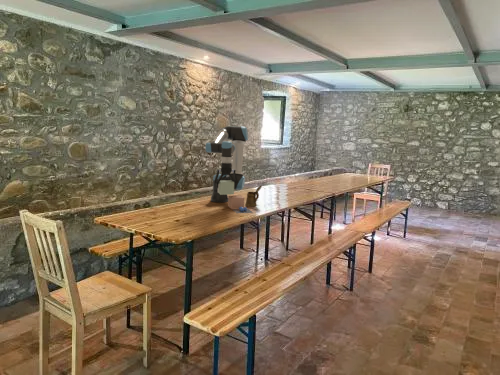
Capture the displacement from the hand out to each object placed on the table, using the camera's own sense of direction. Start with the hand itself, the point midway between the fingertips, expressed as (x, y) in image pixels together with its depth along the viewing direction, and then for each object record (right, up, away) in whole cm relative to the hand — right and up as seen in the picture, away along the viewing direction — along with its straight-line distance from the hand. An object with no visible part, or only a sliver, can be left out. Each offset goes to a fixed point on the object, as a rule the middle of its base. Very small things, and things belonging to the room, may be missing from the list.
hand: (225, 192), depth 281 cm
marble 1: (+11, -14, +4) cm, 19 cm away
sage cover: (0, -1, 0) cm, 1 cm away
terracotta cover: (+7, -13, +14) cm, 21 cm away
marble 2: (+12, -15, +1) cm, 19 cm away
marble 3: (+15, -14, +3) cm, 21 cm away
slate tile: (+13, -15, +3) cm, 20 cm away
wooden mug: (+21, -12, +25) cm, 34 cm away
